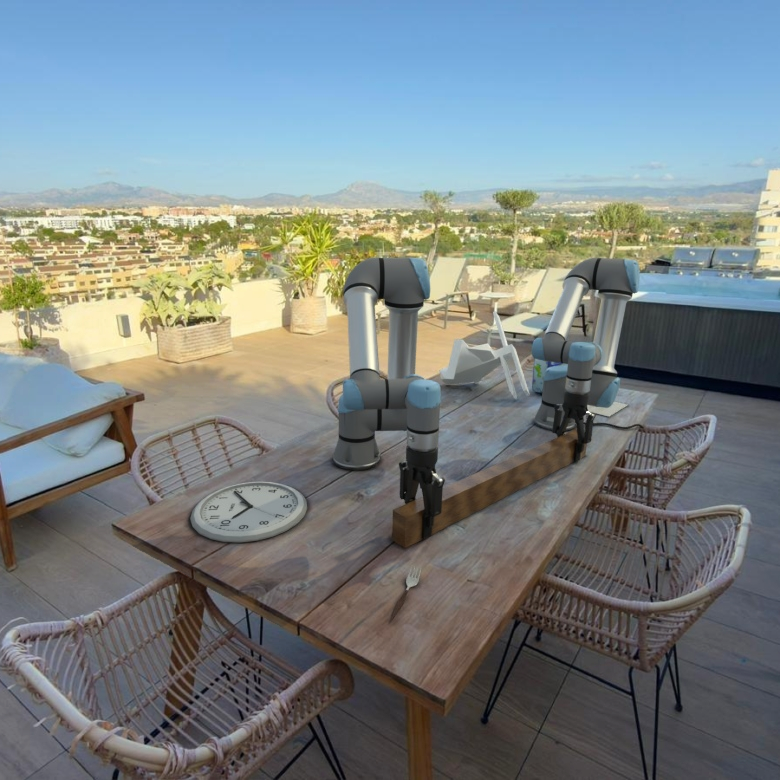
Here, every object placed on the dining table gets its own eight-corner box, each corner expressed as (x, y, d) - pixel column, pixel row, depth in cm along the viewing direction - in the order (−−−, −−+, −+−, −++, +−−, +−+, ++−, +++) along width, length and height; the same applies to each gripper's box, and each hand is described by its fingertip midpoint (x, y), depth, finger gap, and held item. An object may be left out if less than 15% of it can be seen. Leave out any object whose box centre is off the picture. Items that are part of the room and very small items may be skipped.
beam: (572, 451, 180) (575, 429, 178) (585, 456, 177) (588, 433, 174) (391, 539, 128) (392, 509, 125) (404, 548, 124) (405, 517, 122)
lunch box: (548, 399, 235) (554, 353, 228) (527, 393, 242) (532, 349, 236) (576, 387, 252) (581, 345, 246) (555, 383, 259) (560, 341, 253)
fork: (385, 619, 101) (385, 611, 101) (410, 571, 116) (411, 563, 115) (398, 623, 100) (398, 614, 100) (422, 574, 115) (422, 566, 114)
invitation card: (608, 416, 214) (573, 407, 224) (608, 416, 214) (573, 408, 224) (628, 404, 229) (594, 396, 238) (628, 405, 229) (594, 397, 238)
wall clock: (302, 534, 126) (174, 538, 123) (303, 540, 126) (175, 544, 124) (310, 477, 154) (206, 479, 152) (310, 482, 155) (206, 484, 152)
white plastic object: (461, 429, 252) (437, 405, 227) (444, 352, 274) (420, 323, 250) (535, 404, 240) (518, 377, 215) (510, 326, 262) (492, 293, 237)
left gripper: (385, 438, 127) (384, 522, 134) (438, 462, 114) (433, 554, 121) (408, 430, 132) (405, 512, 139) (461, 453, 119) (455, 542, 126)
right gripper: (545, 386, 171) (538, 451, 178) (598, 400, 158) (588, 470, 165) (558, 382, 176) (550, 446, 183) (610, 395, 163) (600, 463, 170)
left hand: (418, 531), depth 130 cm, fingers closed on beam, 5 cm apart
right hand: (568, 457), depth 174 cm, fingers open, 5 cm apart
